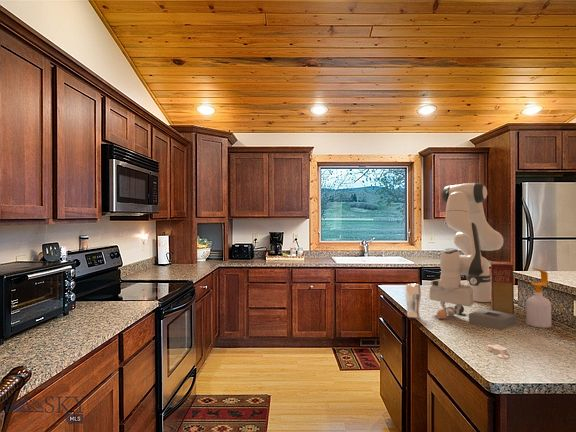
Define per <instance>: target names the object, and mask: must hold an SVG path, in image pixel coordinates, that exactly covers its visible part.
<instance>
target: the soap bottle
mask: <svg viewBox="0 0 576 432" xmlns="http://www.w3.org/2000/svg"><path fill="white" fill-rule="evenodd" d="M531 269H532V270H536V271H538V272H540V282H536V283H535V282H531V283H530V285H531V286H534V288H535V289H534V290H533V295H532V296H529V297H528V298H526V300H525V321H526V322H525V323H526V325H528V326H531V327H535V328H541V329H542V328H543V329H547V328H551V327H552V302H551V301H550V300H549V299H548V298H546V297H545V296H544V295H543V294H544V293H543V292H544V291H543V290H541V288H542V287H543V286H547V285H548V281H549V280H548V279H549V278H548V277H549V275H548V272H547V271H546V270H543V269H539V268H535V267H531Z"/></svg>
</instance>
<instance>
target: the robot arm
mask: <svg viewBox="0 0 576 432" xmlns="http://www.w3.org/2000/svg"><path fill="white" fill-rule="evenodd" d="M487 196H488V189H487V186H486V185H485V183H481V182H468V183H466V182H465V183H464V182H463V183H460V184H459V183H458V184H454V185H447V186H444V188H443V189H442V192H441V199H442V201H443V203H445V204H446V206H445V223H446V224H447V227H448V228H450V229H451V230H453V231H456V234H454V237H453V243H454V245H455V246H456V248H444V249H442V250H441V254H440V261H439V262H440V263H439V264H440V265H439V267H440V270H441V271H440V272H441V273H440V276H439V277H440V278H437V279H434V280H431V281H430V285H431V286H430V287H429V295H428V296H429V299H430V300H431V301H435V302H436V301H437V302H440V306H441V307H442V308H441V309H443V310H445V311H446V309H447V306H446V303H448V304H453V305H457V307H458V308H457V309H456V310H454V311H455V312H454V313H455V315H460V314H459V310H460V308H461V307H462V306H463V307H464V306H465V307H472V306H473V305H474V303H475V302H476V303H477V302H480V303H491V274H490V262H489V260H488V259H487V258H485V257H484V256H482V255H483V254H482V251H487V252H488V251H490V252H491V251H497V250H498V251H499V250H501V248H502V247H503V246H504V237H503V235H502V234H501V233H500V232H499V231H496V230H495V229H494V228H493V227H492V226H491V225H490V224H489V223H488V221H487V218H486V214H485V211H484V205H483V204H484V203H483V202H484V201H486V199H487ZM457 248H458V249H457ZM459 250H460V251H461V252H462V253H463V254H460V252H459ZM461 276H466V282H465V283H464V284H461V283H462V279H461Z"/></svg>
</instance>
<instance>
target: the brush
mask: <svg viewBox="0 0 576 432" xmlns="http://www.w3.org/2000/svg"><path fill="white" fill-rule="evenodd" d="M486 351H487V352H492V353H493V354H495V355H496V357H498V358H499V359H503V360H508V359H509V356H508V349H507V347H505V346H501V345H500V344H487V348H486Z"/></svg>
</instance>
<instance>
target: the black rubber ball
mask: <svg viewBox="0 0 576 432" xmlns="http://www.w3.org/2000/svg"><path fill="white" fill-rule="evenodd" d="M454 305H455V306H454V308H455V310H456V309H457V308H458V307H457V304H454ZM464 311H465V307H464V306H463V305H462V307H461V308H460V310H459V314H458V315H460V314H463V313H464Z"/></svg>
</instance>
